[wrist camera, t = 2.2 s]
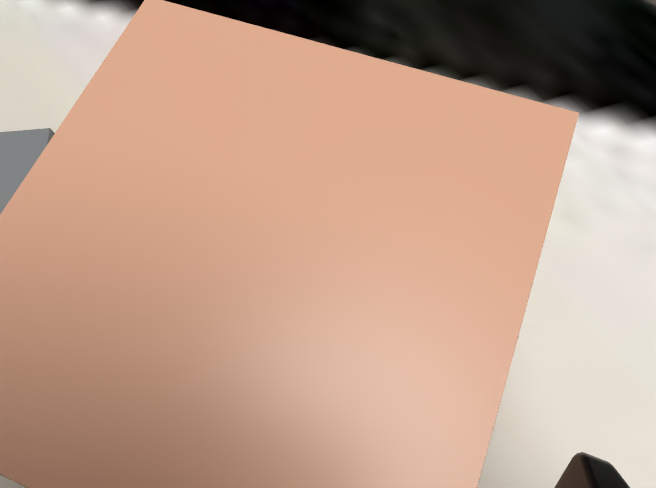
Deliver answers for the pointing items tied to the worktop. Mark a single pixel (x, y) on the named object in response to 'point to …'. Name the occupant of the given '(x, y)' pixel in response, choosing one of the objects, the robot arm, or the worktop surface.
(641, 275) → the worktop surface
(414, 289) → the salmon pink pillar
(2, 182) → the rubber mat
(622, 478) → the robot arm
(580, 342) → the worktop surface
